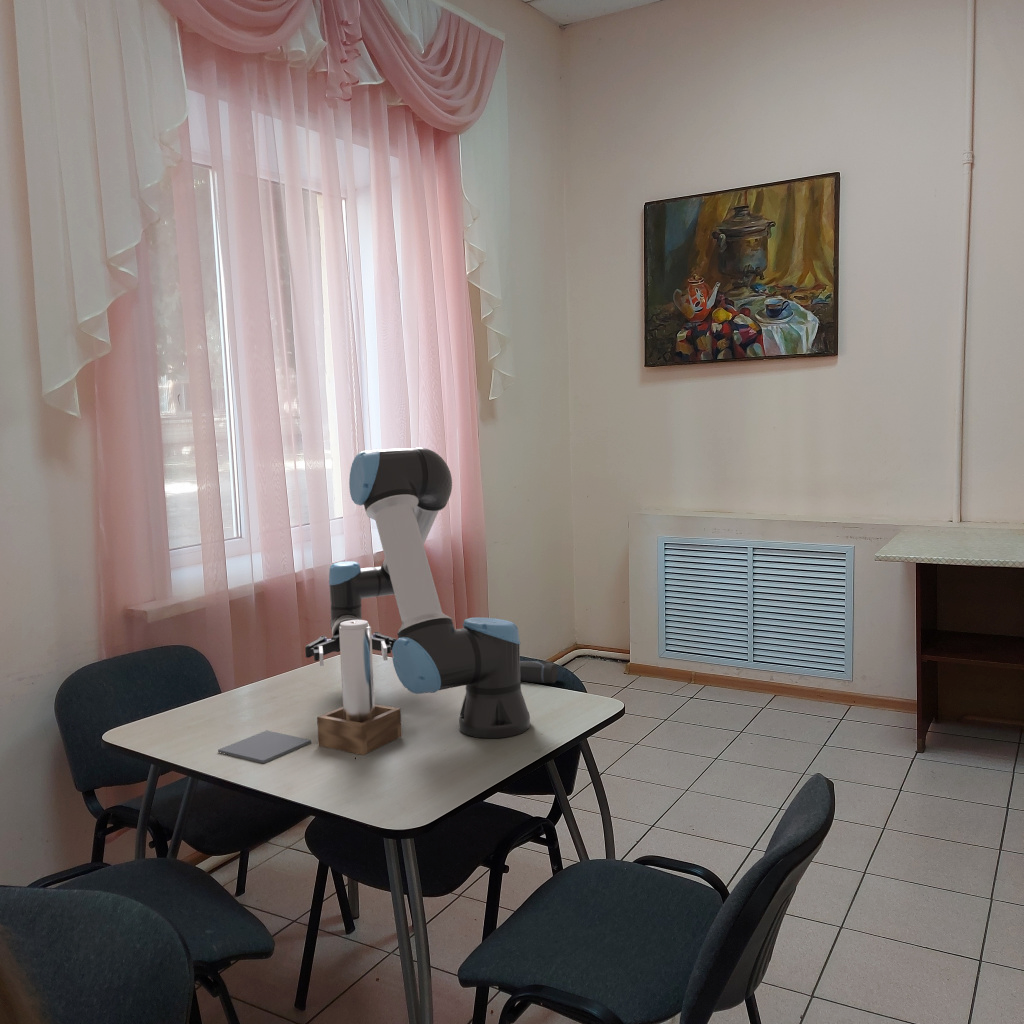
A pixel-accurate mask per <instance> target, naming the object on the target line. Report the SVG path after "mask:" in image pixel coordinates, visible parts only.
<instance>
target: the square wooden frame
mask: <svg viewBox="0 0 1024 1024" xmlns="http://www.w3.org/2000/svg"><path fill="white" fill-rule="evenodd" d="M401 715H402V713H401V708H399V707H394V706H389V705H382V704H378V703H375V717H374V718H371V719H369V720H367V721H365V722H362V723H359V722H354V721H349V720H344V717H343V706H340V707H337V708H336V709H333V710H331V711H328V712H326V713H323V714H321V715H318V716H317V717H316V721H317V737H318V738H317V739H318V741H317V742H318V743H317V744H318V746H320V747H325V748H328V749H333V750H338V751H342V752H343V751H344V752H348V753H352V754H357V755H361V756H365V755H367V754H368V753H371V752H373V751H375V750H377V749H379V748H381V747H383V746H385V745H388V744H390V743H392V742H393V741H396V740H397V739H399V738H402V737H403V734H402V716H401Z"/></svg>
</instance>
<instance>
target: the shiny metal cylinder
mask: <svg viewBox="0 0 1024 1024" xmlns="http://www.w3.org/2000/svg"><path fill="white" fill-rule="evenodd" d="M372 636H373V634H372V626H371V625H370V624H369V621H368V620H365V619H362V620H349V621H344V622H341V623H340V627H339V637H340V651H339V652H340V657H339V658H340V670H341V671H340V672H341V673H340V676H341V695H342V697H341V698H342V707H343V717H344V720H349V721H354V722H359V723H362V722H365V721H367V720H369V719H371V718H374V717H375V704H376V702H375V700H376V699H375V681H374V663H373V661H374V660H373V649H372Z"/></svg>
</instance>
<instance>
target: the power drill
mask: <svg viewBox="0 0 1024 1024" xmlns="http://www.w3.org/2000/svg"><path fill="white" fill-rule="evenodd" d="M558 678H559V668H558V665H557V664H556V663H550V662H547V661H535V660H520V682H526V683H538V684H555V683H556V682H557V681H558Z"/></svg>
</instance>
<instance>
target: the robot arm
mask: <svg viewBox="0 0 1024 1024" xmlns="http://www.w3.org/2000/svg"><path fill="white" fill-rule="evenodd" d="M348 480H349V483H348V484H349V493H350V497H351V500H352V502H353V503H354V504H355V505H358V506H363V507H364V510H365V515H366V516H367V517H368V518H370V519H371V520H374V521H375V525H376V529H377V532H378V536H379V540H380V543H381V544H380V545H381V548H382V552H383V554H384V560H383V562H382V563H381V565H380V566H370V567H364V568H363V567H362V568H361V566H360V563H359V562H357V561H351V560H350V561H349V560H348V561H339V562H334V563H332V564H331V565H330V567H329V573H328V585H329V598H330V629H331V633H332V636H331V638H328V637H327V636H325V635H320V636H319V637H318V639H315V640H314V641H312V642H310V643H308V644H307V645H305V647H304V649H305V650H304V651H305V658H307V659H308V658H312V657H313V660H314V661H315V662H318V661H319V666H320V667H322V666H324V656H326V655H328V654H331V653H333V652H335V653H339V652H340V637H339V627H340V623H341V622H344V621H349V620H363V618H362V617H363V616H362V614H363V612H362V600H363V599H369V598H370V599H371V598H377V597H384V596H393V595H394V598H395V602H396V605H397V609H398V612H399V616H400V621H401V626H400V627H399V629H398V631H397V638H395V637H391V636H389V635H385V634H382V633H381V632H379V631H374V632H373V634H372V651H373V650H374V651H380V652H381V655H382V658H383V661H388V654H391V653H392V657H391V658H392V664H393V668H394V671H395V674H396V676H397V678H398V680H399V682H400V683H401V684H402V686H403V687H404V688H406V690H408V691H409V692H410V693H412V694H415V695H420V694H433V693H434V694H435V693H437V692H439V691H443V690H448V689H452V688H457V687H463V686H465V695H464V699H463V702H462V705H461V709H460V712H459V717H458V727H459V731H460V732H461V733H463V734H464V735H467V736H470V737H475V738H480V739H481V738H482V739H483V738H484V739H498V738H500V739H501V738H508V737H512V736H513V735H514V736H517V735H520V734H523V733H524V731H525V732H527V731H528V730H529V729H530V727H531V716H530V712H529V711H528V707H527V704H526V700H525V699H524V698H525V697H524V696H523V692H522V688H521V682H522V681H520V661H521V654H520V652H521V650H520V649H521V648H520V645H521V641H520V633H519V628H518V625H516V624H515V623H514V622H512V621H510V620H506V619H501V618H495V617H492V618H491V617H469V618H465V619H463V620H464V621H463V623H462V627H461V628H455V626H454V625H455V624H454V622H453V619H452V617H451V616H449V615H447V614H445V613H444V612H443V609H442V606H441V603H440V602H441V601H440V599H439V595H438V592H437V589H436V585H435V581H434V578H433V573H432V571H431V567H430V563H429V560H428V556H427V552H426V549H425V542H426V541H427V538H428V536H429V534H430V532H431V529H432V527H433V526H434V522H435V521H436V519H437V515H438V514H439V511H442V510H444V509H445V508H446V506H447V504H448V501H449V499H450V497H451V494H452V488H453V479H452V473H451V470H450V468H449V466H448V463H446V461H445V459H443V457H441V455H439V454H438V453H437V452H435V451H433V450H431V449H429V448H425V447H411V448H410V447H409V448H407V447H406V448H388V449H385V448H384V449H379V448H375V449H373V450H372V449H371V450H362V451H360V452H358V453H357V454H356V455H355V457H354V459H353V461H352V463H351V467H350V472H349V479H348ZM528 728H529V729H528ZM527 729H528V730H527ZM522 732H523V733H522Z"/></svg>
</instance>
